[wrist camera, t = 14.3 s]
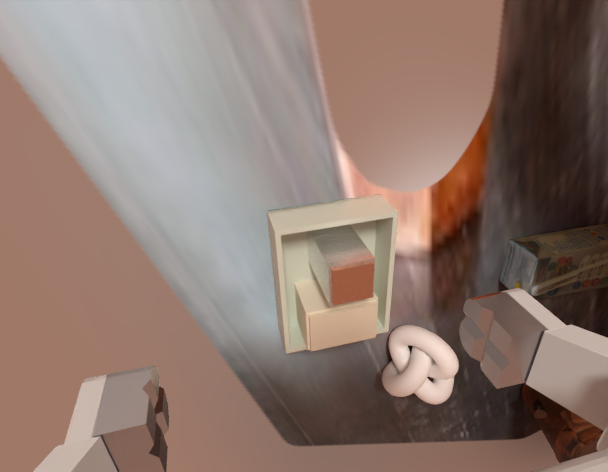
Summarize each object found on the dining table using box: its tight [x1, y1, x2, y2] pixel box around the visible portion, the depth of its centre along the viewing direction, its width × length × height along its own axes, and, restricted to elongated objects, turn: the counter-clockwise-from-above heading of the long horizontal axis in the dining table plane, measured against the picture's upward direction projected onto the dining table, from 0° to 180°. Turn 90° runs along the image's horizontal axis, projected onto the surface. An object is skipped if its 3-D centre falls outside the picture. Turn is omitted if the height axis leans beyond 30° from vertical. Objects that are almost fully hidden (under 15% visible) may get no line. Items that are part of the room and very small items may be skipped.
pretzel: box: [382, 325, 459, 404], centre depth 59 cm, size 11×12×9 cm
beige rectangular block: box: [294, 279, 378, 352], centre depth 51 cm, size 9×6×7 cm, turn 93°
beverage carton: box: [499, 223, 608, 300], centre depth 59 cm, size 8×19×7 cm, turn 92°
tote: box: [267, 194, 398, 354], centre depth 50 cm, size 14×18×5 cm
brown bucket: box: [521, 382, 604, 463], centre depth 71 cm, size 18×20×18 cm
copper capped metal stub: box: [307, 224, 375, 306], centre depth 46 cm, size 5×5×9 cm
